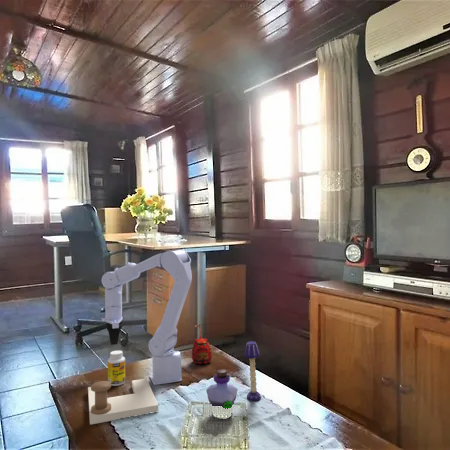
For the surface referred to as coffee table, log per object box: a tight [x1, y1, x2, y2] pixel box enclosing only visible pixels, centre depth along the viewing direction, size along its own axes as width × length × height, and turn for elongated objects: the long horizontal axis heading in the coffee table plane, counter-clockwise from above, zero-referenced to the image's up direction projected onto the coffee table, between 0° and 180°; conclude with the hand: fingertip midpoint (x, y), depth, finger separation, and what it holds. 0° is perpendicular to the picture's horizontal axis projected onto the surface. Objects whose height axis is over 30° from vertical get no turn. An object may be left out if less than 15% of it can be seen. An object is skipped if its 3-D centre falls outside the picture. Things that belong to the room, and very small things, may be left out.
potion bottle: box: [205, 369, 238, 409], centre depth 105 cm, size 9×9×12 cm
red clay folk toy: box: [191, 320, 213, 365], centre depth 146 cm, size 8×7×15 cm
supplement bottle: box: [107, 350, 126, 387], centre depth 127 cm, size 6×6×10 cm
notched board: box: [87, 378, 159, 426], centre depth 113 cm, size 18×20×9 cm
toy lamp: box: [243, 340, 262, 402], centre depth 115 cm, size 5×5×17 cm
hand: (114, 343), depth 135 cm, fingers closed
